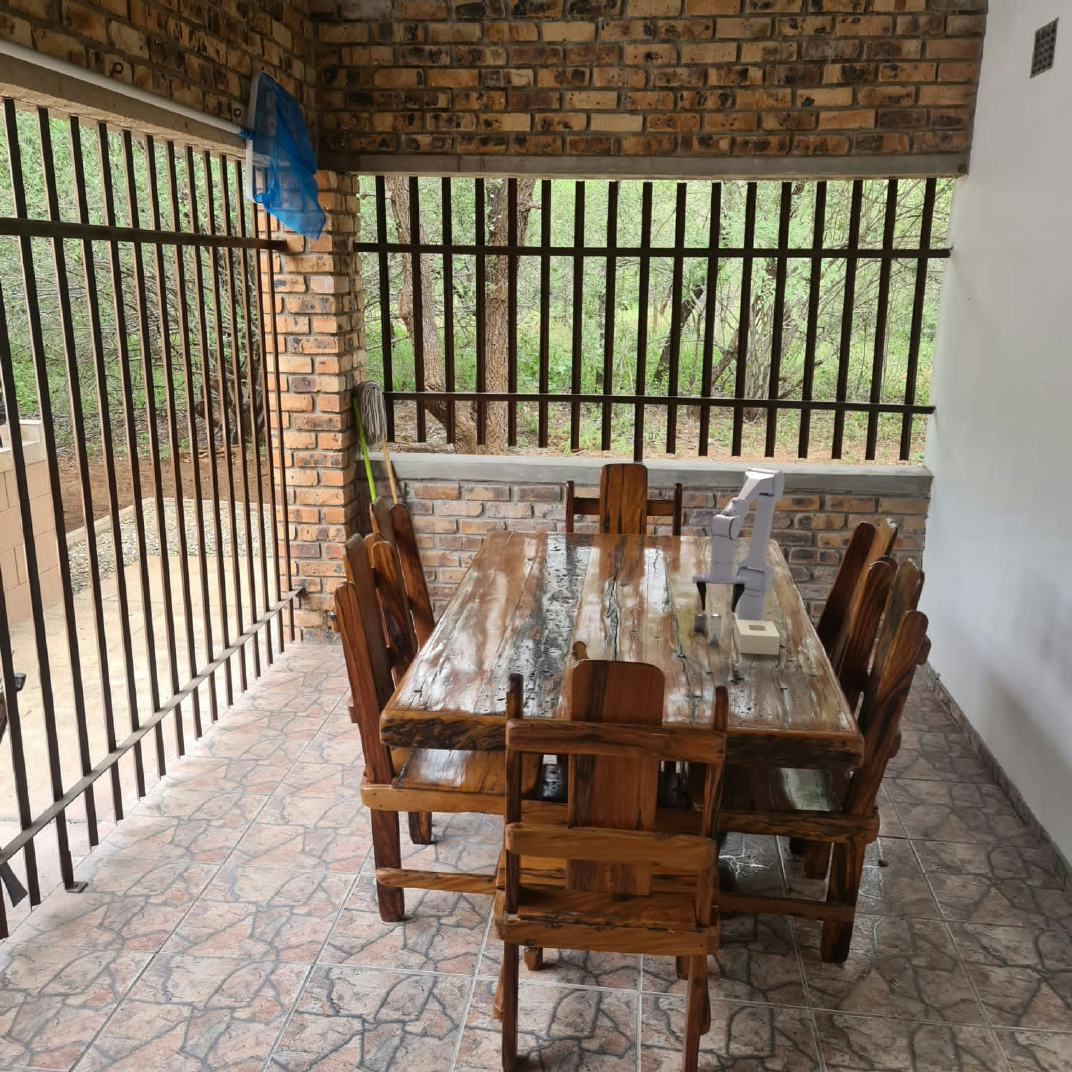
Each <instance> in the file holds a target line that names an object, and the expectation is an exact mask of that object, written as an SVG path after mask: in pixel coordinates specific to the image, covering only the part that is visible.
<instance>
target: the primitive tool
mask: <svg viewBox="0 0 1072 1072" xmlns="http://www.w3.org/2000/svg"><path fill="white" fill-rule="evenodd" d="M573 650H574V651H576V652H575V654H576V657H577V658H578V659H577V658H576V659H577V661H578V660H582V659H590V660H591V658H590V656H588V654H587V652H586V650H587V645H586V643H585V641H582V640H577V641H575V642H574V643H573V644H572V651H573ZM574 651H573V652H574Z"/></svg>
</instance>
